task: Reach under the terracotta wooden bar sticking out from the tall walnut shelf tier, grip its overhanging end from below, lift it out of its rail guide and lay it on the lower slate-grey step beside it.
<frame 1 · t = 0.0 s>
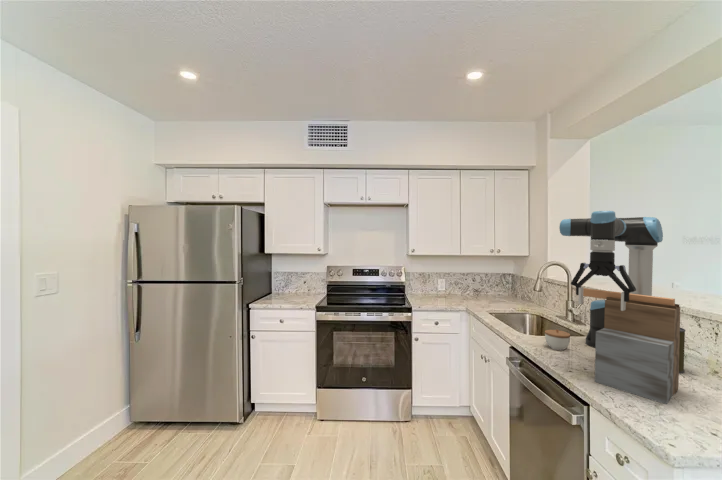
hand: (601, 306, 124), 28 cm above the countertop, tool pointing down, fingers open, 13 cm apart
terracotta bar: (621, 300, 127), point 30 cm above the countertop, touching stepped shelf
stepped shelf: (635, 385, 119), on the countertop
canister: (667, 369, 136), on the countertop
lidded jar: (557, 348, 159), on the countertop
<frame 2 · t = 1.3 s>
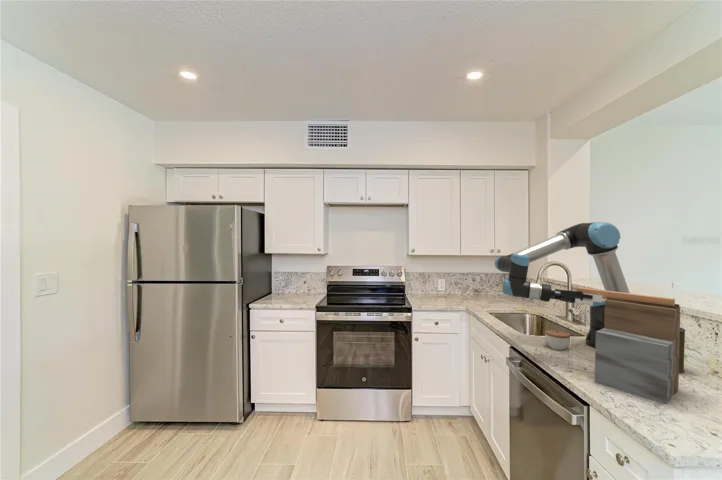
hand: (597, 301, 136), 28 cm above the countertop, tool horizontal, fingers open, 13 cm apart
terracotta bar: (621, 300, 127), point 30 cm above the countertop, touching gripper
everything else where it was.
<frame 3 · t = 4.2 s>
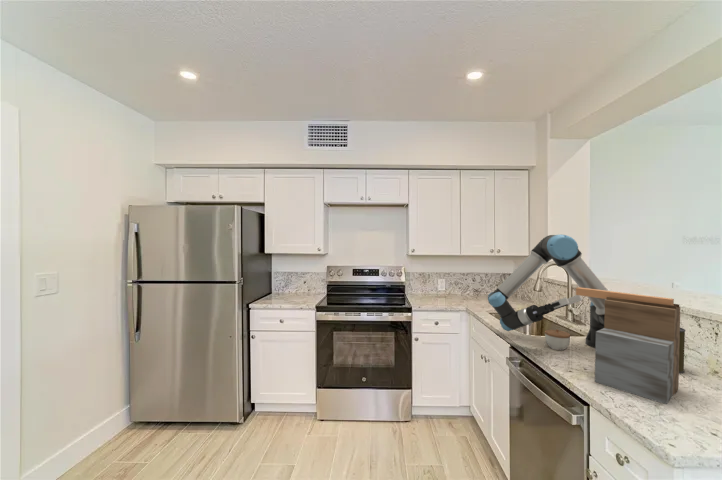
hand: (574, 298, 139), 28 cm above the countertop, tool pointing upward, fingers open, 13 cm apart
terracotta bar: (620, 300, 127), point 30 cm above the countertop, touching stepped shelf
everything else where it was.
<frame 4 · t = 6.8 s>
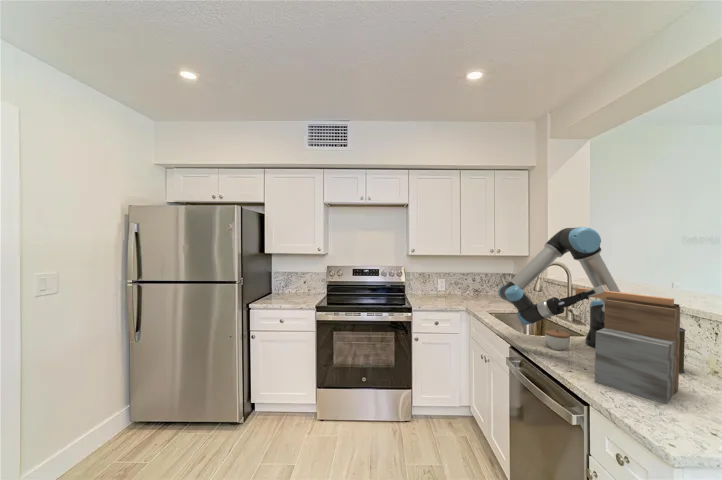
hand: (605, 287, 131), 34 cm above the countertop, tool pointing upward, fingers closed on terracotta bar, 3 cm apart
terracotta bar: (620, 300, 127), point 30 cm above the countertop, touching gripper, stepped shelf
everything else where it was.
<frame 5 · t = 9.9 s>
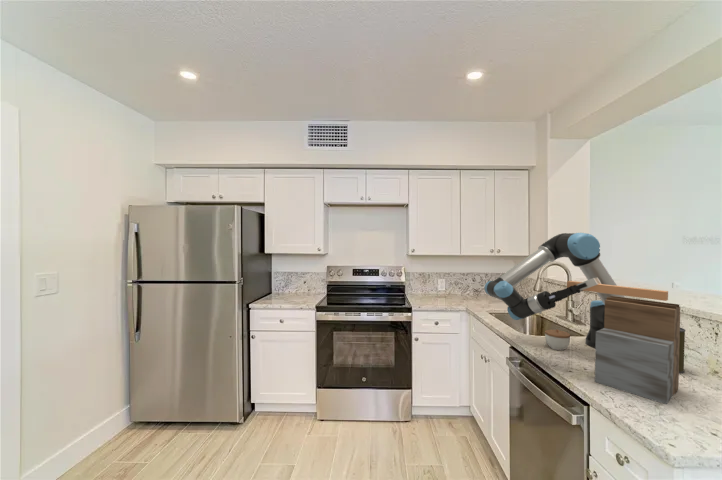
hand: (597, 280, 126), 38 cm above the countertop, tool pointing upward, fingers closed on terracotta bar, 3 cm apart
terracotta bar: (612, 293, 121), point 33 cm above the countertop, touching gripper
everything else where it was.
when the fingers open (25 cm above the countertop, at t = 12.8 s): terracotta bar drops 2 cm, resting on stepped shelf.
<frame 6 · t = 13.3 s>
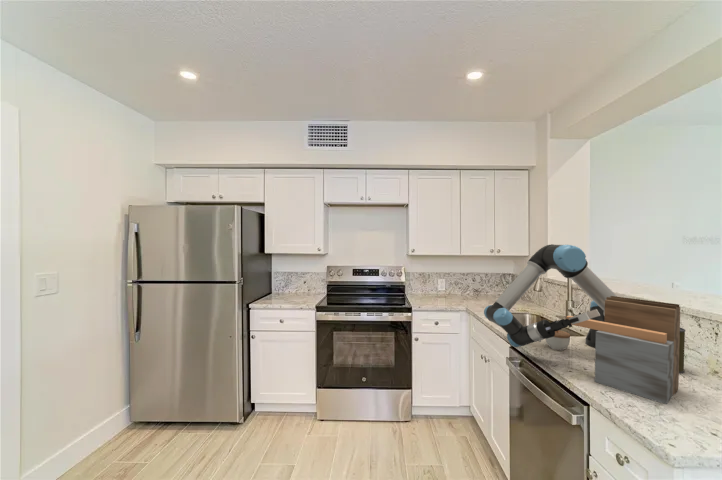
hand: (593, 314, 127), 25 cm above the countertop, tool pointing upward, fingers open, 10 cm apart
terracotta bar: (611, 332, 122), point 19 cm above the countertop, touching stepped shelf
everything else where it was.
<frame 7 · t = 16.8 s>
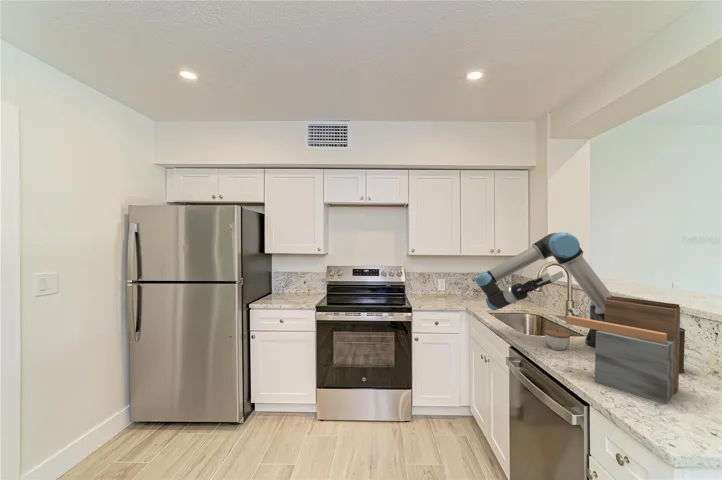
hand: (556, 274, 142), 38 cm above the countertop, tool pointing upward, fingers open, 13 cm apart
nothing on the countertop moved.
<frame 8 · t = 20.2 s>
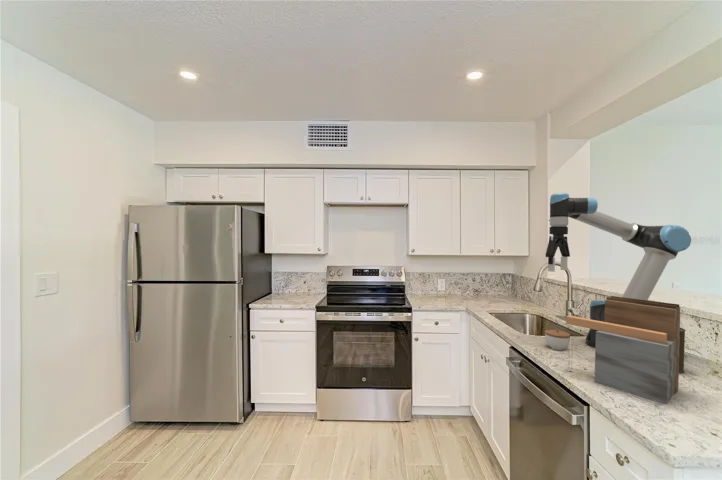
hand: (557, 270, 154), 39 cm above the countertop, tool pointing down, fingers open, 13 cm apart
nothing on the countertop moved.
at the end: terracotta bar inside the target area (0.3 cm from its centre), point 19.0 cm above the countertop; terracotta bar tilted 0°; the gripper is holding nothing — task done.
